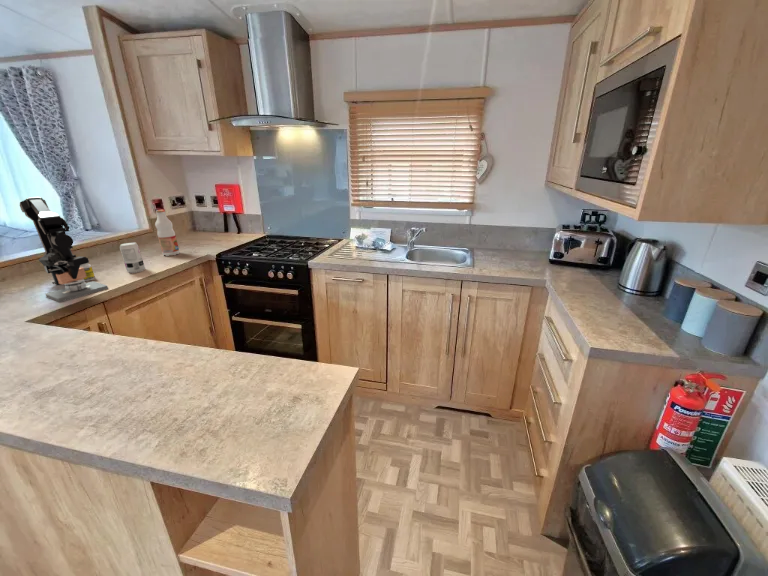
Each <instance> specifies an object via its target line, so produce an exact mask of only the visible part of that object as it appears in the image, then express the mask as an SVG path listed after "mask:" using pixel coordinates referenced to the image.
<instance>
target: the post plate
mask: <svg viewBox="0 0 768 576" xmlns="http://www.w3.org/2000/svg"><path fill="white" fill-rule="evenodd" d="M85 283H86V286H87V287H86V288H84V289H81V290H78V291H72V292H70V291H66V289H65V288H61V289H57V290H54V291H51V292H45V293H44V294H45V296H46V298H49V299H51V300H53V301H55V302H58V303H62V302H65V301H70V300H72V299H73V300H74V299H76V298H79V297H84V296H87V295H90V294H93V293H98V292H101V291H104V290H107V289H109V287H108V285H106V284H104V283H100V282H98V281H93V280H91V281H87V282H85ZM74 285H78V284H74ZM71 286H72V285H71Z"/></svg>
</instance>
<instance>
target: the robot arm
mask: <svg viewBox="0 0 768 576" xmlns="http://www.w3.org/2000/svg"><path fill="white" fill-rule="evenodd" d="M19 207H20V210H21V212H22V213H24V215H25V217H27V218H28V219H29V220H31V221H32V223H33V224H34V227H35V230H36V232H37V234H38V237H39V239H40V242H41V244H42V247H43V249H44V254H43V256H42V257H40V258H39V259H37V260H38V261H39V262H40V264H42V265H43V268H44V271H45V273H47V274H51V276H52V279H53V281H52V282H51V283H52V284H54V285H57V286H60V285H61V284H59V282H58V279H57V277H56V274H59V273H62V272H66V271H69V272H70V274H71V276H72V278H73V279H76V278H77V275H78V271H79V268H80V265H82V264H86V263H88V264H90V260H89V257H86V256H77V255H76V254H73V251H72V249H74V248H73V244H74V239H73V238H72V237H71V236H70V235H68V234H66V232H70V230H69V229H70V226H69V225H68V223H67V221H66V220H65V219H64V218H63V217H61V216H60V215H59V214H58V213H57V212H53V211H51V210H50V207H49V206H48V204H47V201H46V200H45V199H43V198H42V197H40V196H33V197H31V196H30V197H27V198H25V199H24V200H22V201H20V202H19Z"/></svg>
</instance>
